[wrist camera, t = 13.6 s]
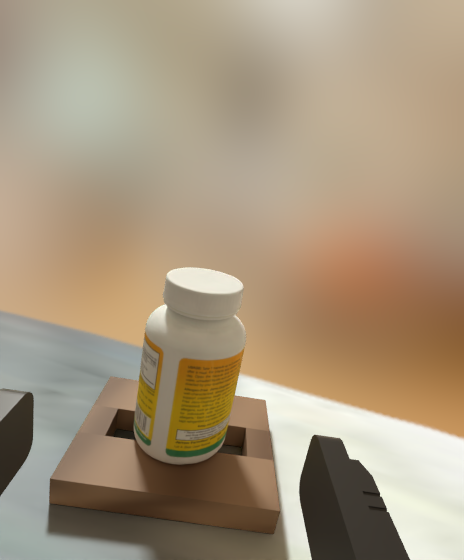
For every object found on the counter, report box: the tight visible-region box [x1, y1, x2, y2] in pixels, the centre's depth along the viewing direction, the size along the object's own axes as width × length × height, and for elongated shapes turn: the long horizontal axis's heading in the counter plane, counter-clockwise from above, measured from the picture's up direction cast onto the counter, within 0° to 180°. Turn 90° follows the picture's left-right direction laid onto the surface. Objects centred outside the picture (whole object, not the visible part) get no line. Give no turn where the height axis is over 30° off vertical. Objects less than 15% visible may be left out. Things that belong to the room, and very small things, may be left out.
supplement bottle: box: [134, 268, 246, 465], centre depth 20 cm, size 5×5×10 cm
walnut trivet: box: [49, 377, 280, 534], centre depth 22 cm, size 11×9×2 cm
